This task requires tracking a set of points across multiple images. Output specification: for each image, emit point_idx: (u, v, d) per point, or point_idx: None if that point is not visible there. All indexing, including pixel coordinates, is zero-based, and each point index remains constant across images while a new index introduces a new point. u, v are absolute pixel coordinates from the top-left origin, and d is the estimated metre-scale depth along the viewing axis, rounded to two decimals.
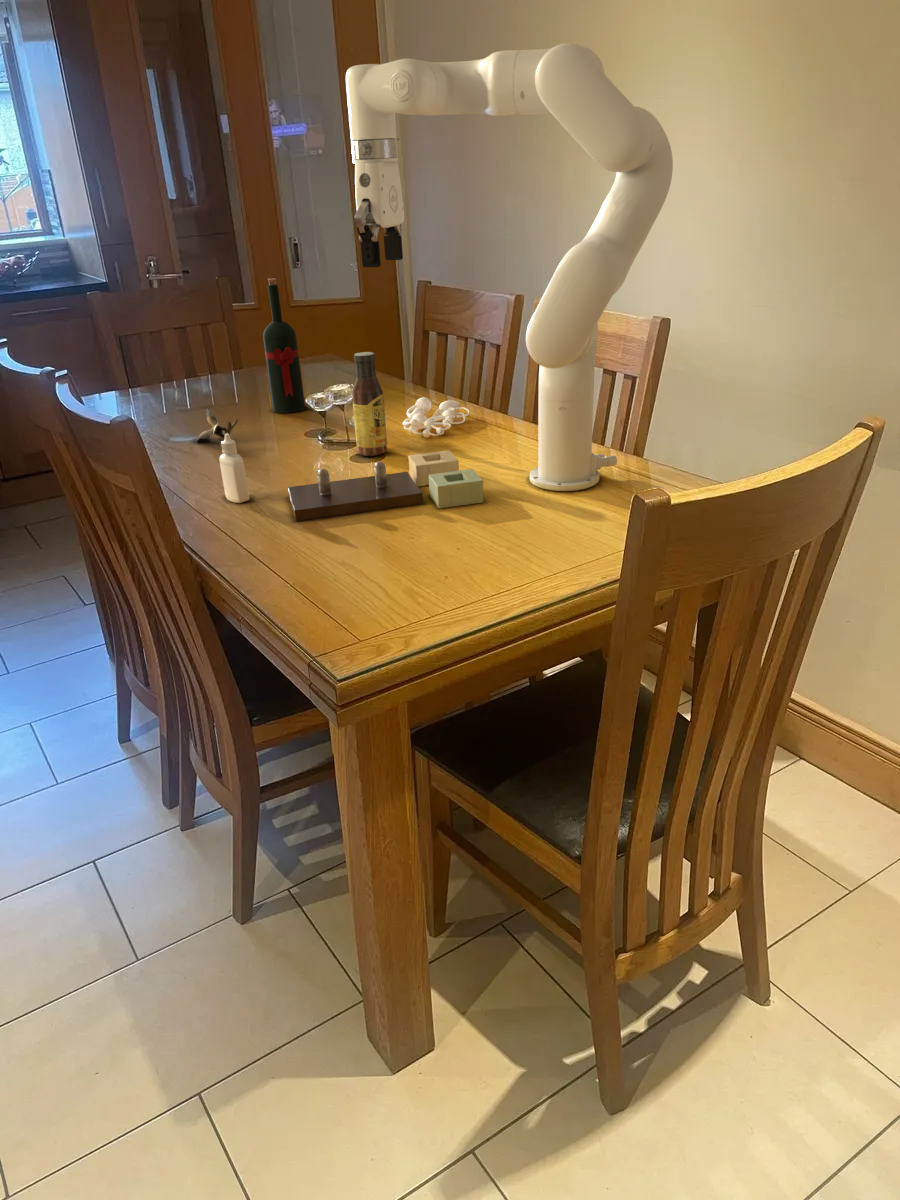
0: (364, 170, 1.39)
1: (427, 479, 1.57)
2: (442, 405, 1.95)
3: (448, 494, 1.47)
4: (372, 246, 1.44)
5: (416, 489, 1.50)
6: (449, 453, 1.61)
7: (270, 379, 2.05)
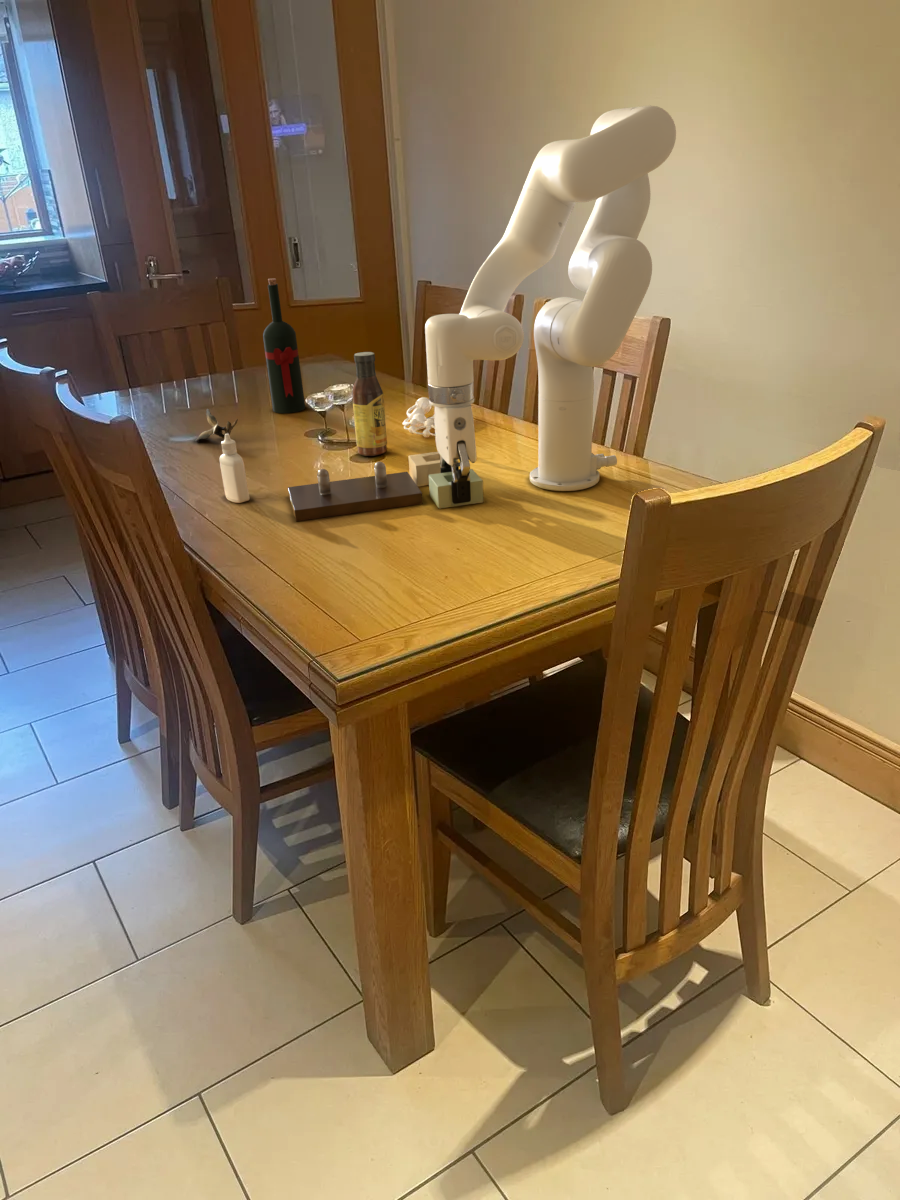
0: (459, 415, 1.39)
1: (427, 479, 1.57)
2: None
3: (448, 494, 1.47)
4: None
5: (416, 489, 1.50)
6: None
7: (270, 379, 2.05)
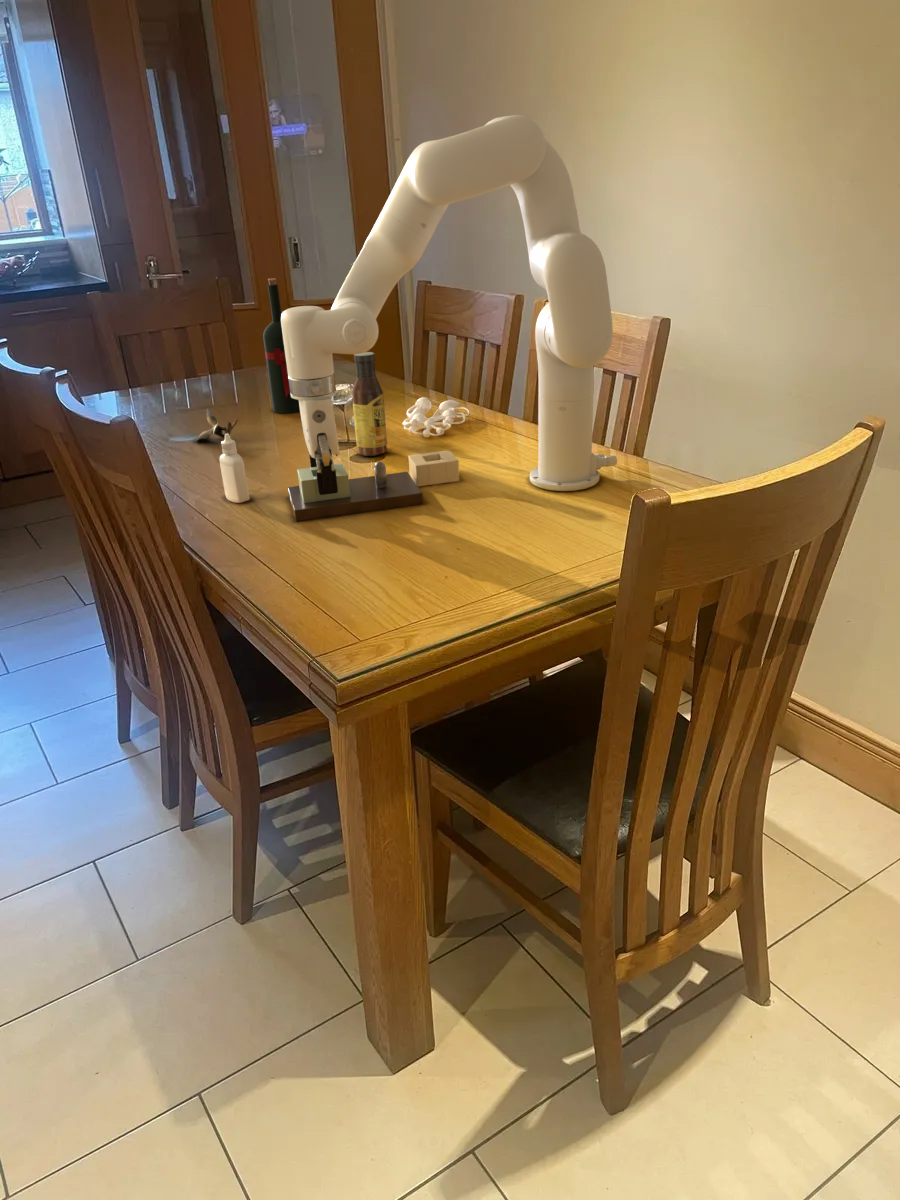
0: (317, 407, 1.39)
1: (427, 479, 1.57)
2: (442, 405, 1.95)
3: (313, 489, 1.46)
4: None
5: (416, 489, 1.50)
6: (449, 453, 1.61)
7: (270, 379, 2.05)
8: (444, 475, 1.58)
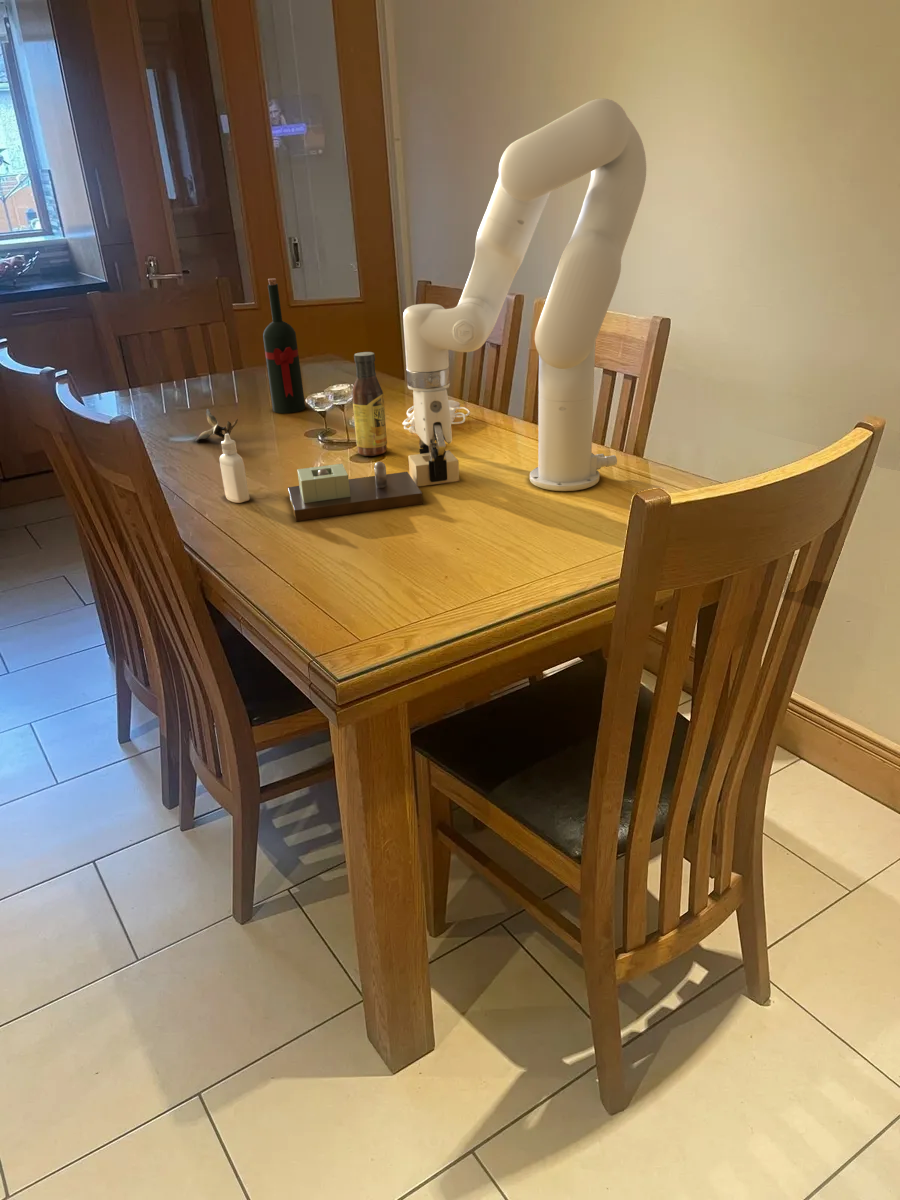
0: (435, 398, 1.50)
1: (427, 479, 1.57)
2: None
3: (313, 489, 1.46)
4: (442, 464, 1.56)
5: (416, 489, 1.50)
6: (449, 453, 1.61)
7: (270, 379, 2.05)
8: None
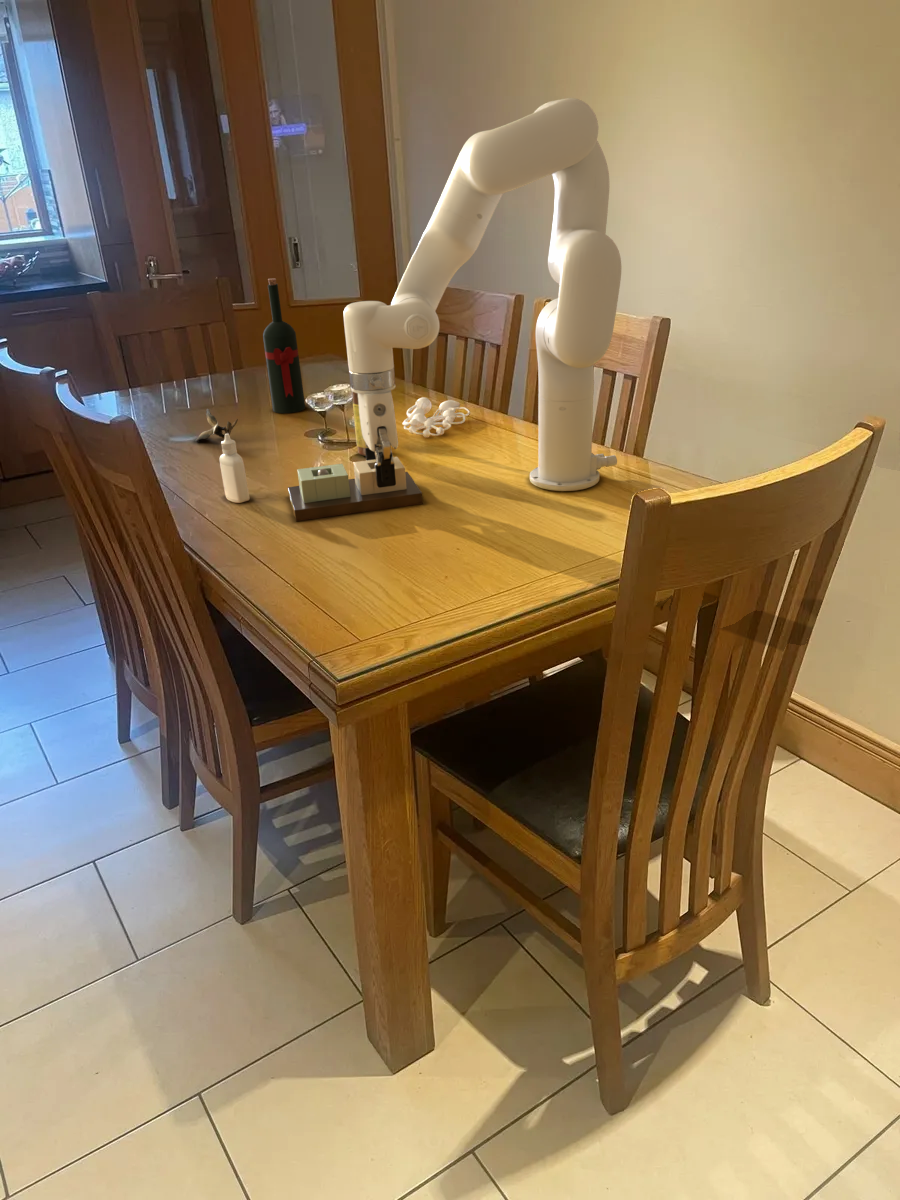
0: (378, 401, 1.41)
1: (372, 487, 1.49)
2: (442, 405, 1.95)
3: (313, 489, 1.46)
4: None
5: (416, 489, 1.50)
6: (396, 460, 1.52)
7: (270, 379, 2.05)
8: None
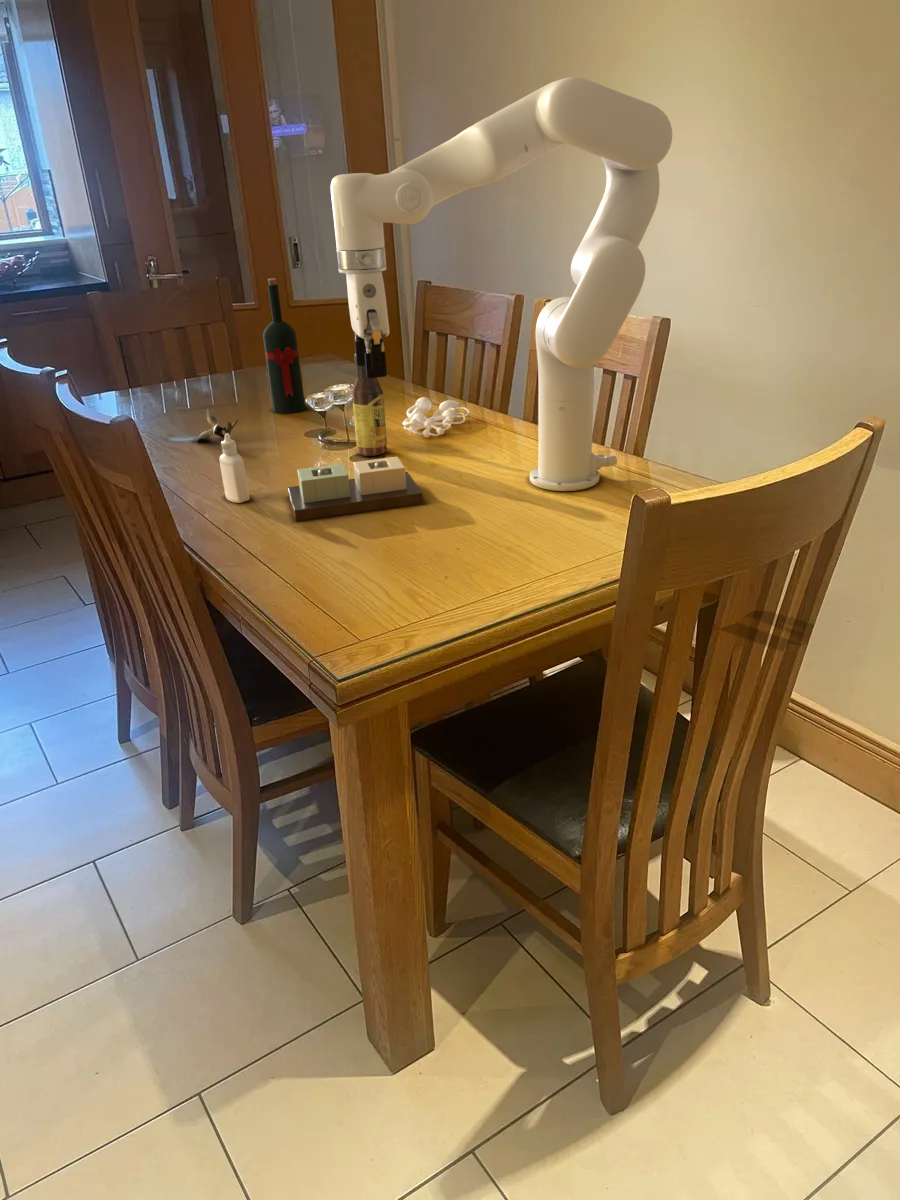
0: (368, 281, 1.32)
1: (372, 487, 1.49)
2: (442, 405, 1.95)
3: (313, 489, 1.46)
4: (380, 356, 1.37)
5: (416, 489, 1.50)
6: (396, 460, 1.52)
7: (270, 379, 2.05)
8: (390, 483, 1.49)
